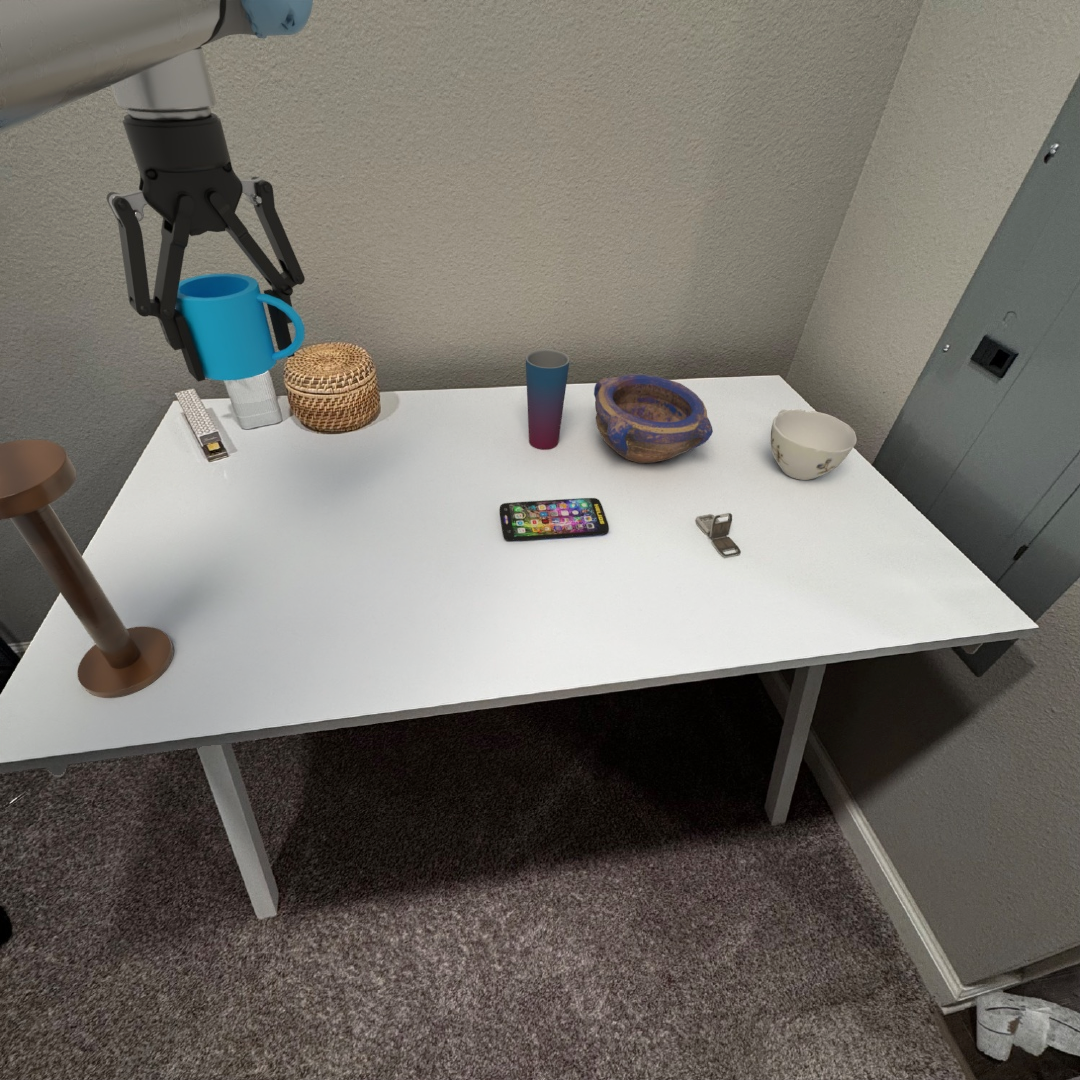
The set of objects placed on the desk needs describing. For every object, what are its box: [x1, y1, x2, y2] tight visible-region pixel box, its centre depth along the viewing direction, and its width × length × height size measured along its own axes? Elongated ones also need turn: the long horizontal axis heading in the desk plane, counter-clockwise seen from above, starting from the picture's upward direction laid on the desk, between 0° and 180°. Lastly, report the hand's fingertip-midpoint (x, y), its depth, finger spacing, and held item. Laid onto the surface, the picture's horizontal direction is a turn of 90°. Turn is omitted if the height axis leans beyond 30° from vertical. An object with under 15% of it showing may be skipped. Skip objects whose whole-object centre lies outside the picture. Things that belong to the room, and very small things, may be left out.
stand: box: [0, 439, 174, 699], centre depth 60 cm, size 9×9×26 cm
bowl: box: [593, 373, 714, 464], centre depth 102 cm, size 18×18×10 cm
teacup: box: [770, 408, 858, 481], centre depth 100 cm, size 15×12×8 cm
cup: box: [525, 348, 571, 451], centre depth 101 cm, size 7×7×15 cm
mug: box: [175, 272, 306, 382], centre depth 65 cm, size 12×8×8 cm
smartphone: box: [499, 497, 610, 542], centre depth 89 cm, size 8×1×15 cm
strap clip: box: [695, 512, 742, 558], centre depth 87 cm, size 8×3×4 cm, turn 17°
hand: (243, 363), depth 67 cm, fingers closed on mug, 9 cm apart
